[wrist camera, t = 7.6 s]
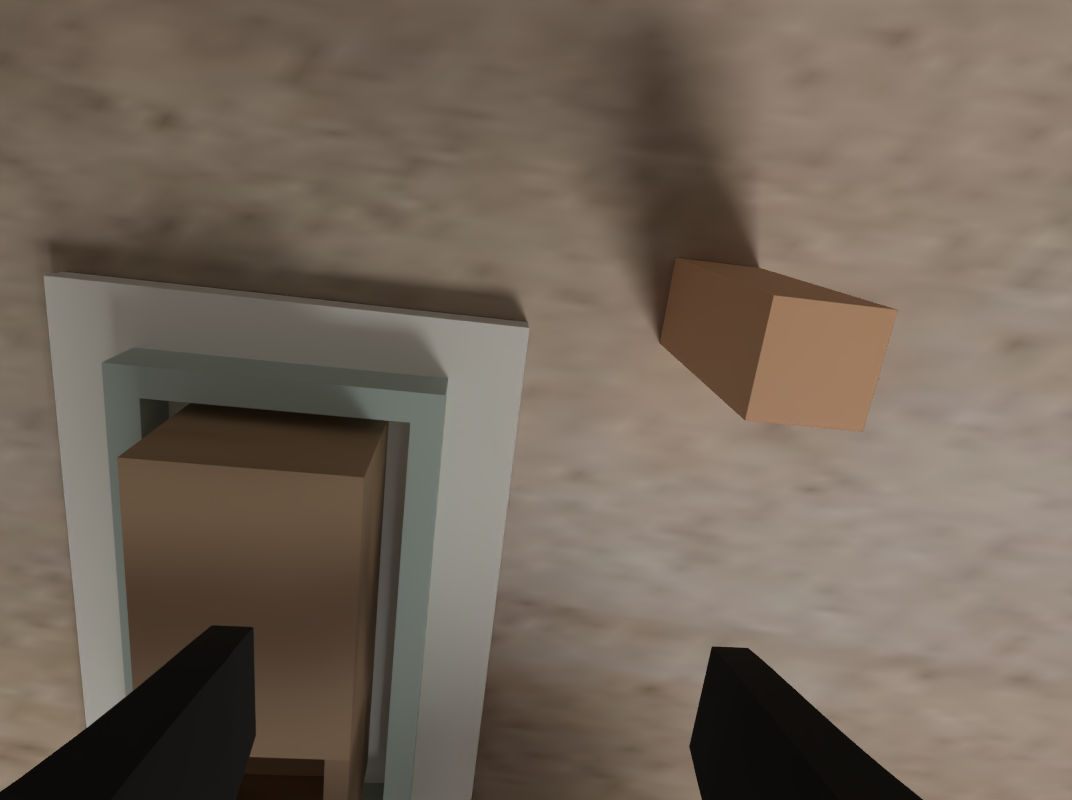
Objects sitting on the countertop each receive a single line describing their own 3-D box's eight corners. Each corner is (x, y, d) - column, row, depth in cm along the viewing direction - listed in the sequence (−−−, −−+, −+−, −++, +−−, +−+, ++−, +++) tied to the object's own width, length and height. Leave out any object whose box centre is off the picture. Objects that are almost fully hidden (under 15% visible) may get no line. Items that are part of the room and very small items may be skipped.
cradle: (466, 819, 24) (465, 883, 22) (109, 809, 22) (68, 876, 20) (527, 321, 18) (533, 340, 16) (62, 271, 17) (1, 284, 15)
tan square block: (740, 351, 19) (862, 431, 13) (659, 343, 19) (745, 420, 13) (759, 267, 18) (897, 310, 12) (675, 257, 18) (774, 295, 12)
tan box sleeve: (367, 763, 22) (343, 886, 18) (207, 757, 21) (146, 883, 17) (389, 415, 18) (364, 477, 14) (196, 398, 18) (116, 457, 14)
